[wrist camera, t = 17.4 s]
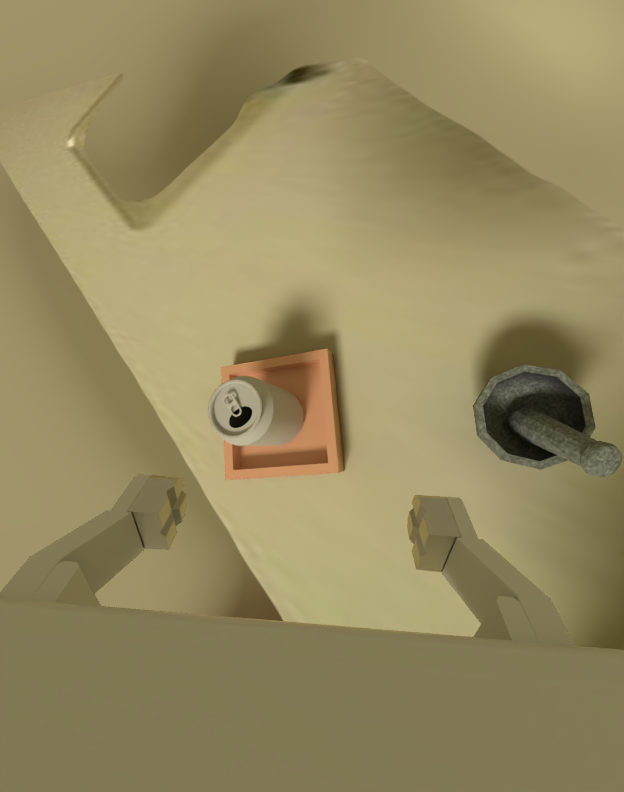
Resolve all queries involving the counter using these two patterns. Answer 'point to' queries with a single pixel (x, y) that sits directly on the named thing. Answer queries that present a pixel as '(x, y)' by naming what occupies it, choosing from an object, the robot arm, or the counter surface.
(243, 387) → the can
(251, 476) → the dish
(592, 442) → the mortar and pestle
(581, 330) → the counter surface
